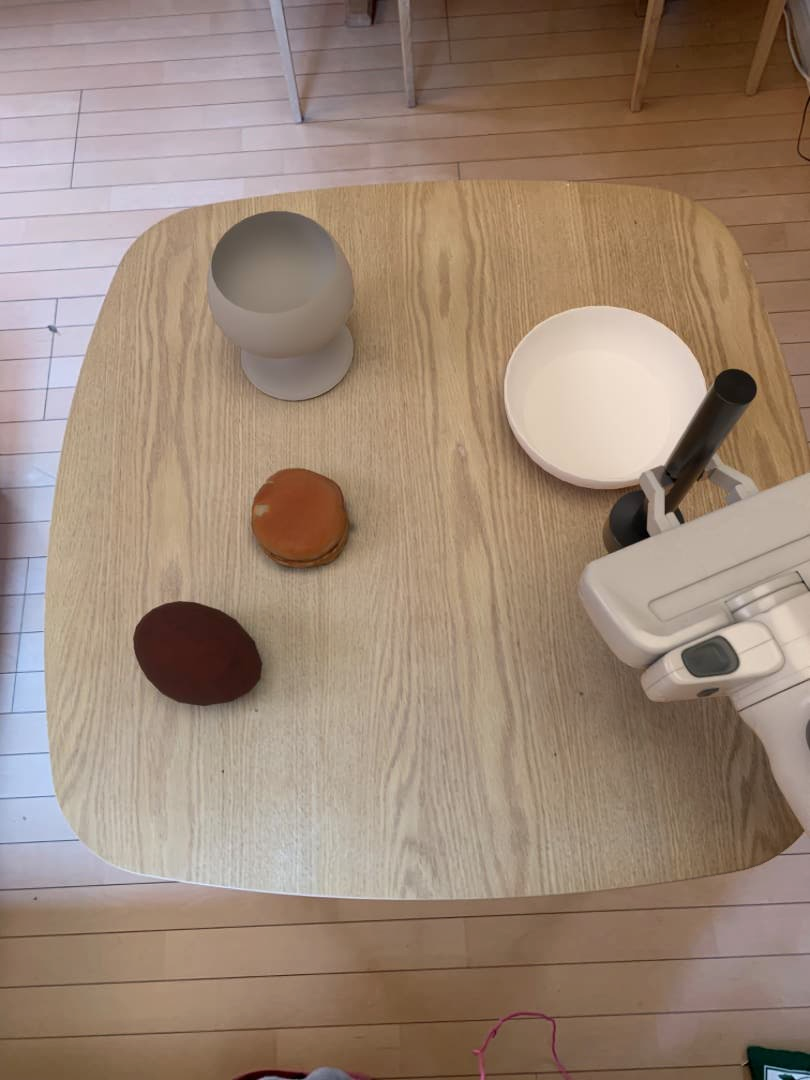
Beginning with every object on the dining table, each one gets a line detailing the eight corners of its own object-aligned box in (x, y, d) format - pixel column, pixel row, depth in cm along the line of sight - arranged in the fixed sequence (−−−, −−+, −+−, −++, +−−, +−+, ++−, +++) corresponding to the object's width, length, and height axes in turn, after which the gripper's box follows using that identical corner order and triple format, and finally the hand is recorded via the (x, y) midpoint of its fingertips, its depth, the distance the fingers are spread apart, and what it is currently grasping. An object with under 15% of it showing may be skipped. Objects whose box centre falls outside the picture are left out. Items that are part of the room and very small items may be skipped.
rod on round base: (683, 518, 71) (800, 360, 49) (663, 581, 69) (775, 448, 47) (614, 493, 72) (698, 328, 50) (592, 555, 70) (669, 412, 48)
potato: (174, 602, 82) (143, 571, 73) (287, 645, 80) (269, 620, 71) (132, 685, 79) (95, 664, 70) (248, 733, 77) (225, 717, 69)
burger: (363, 551, 83) (359, 534, 79) (273, 585, 82) (264, 569, 78) (330, 467, 87) (324, 446, 82) (243, 498, 86) (233, 479, 81)
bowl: (622, 312, 92) (635, 275, 86) (728, 454, 86) (749, 425, 80) (464, 387, 89) (467, 355, 84) (562, 540, 83) (572, 517, 77)
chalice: (281, 434, 88) (253, 353, 74) (207, 344, 92) (168, 252, 78) (388, 361, 91) (381, 270, 77) (312, 277, 95) (291, 176, 81)
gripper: (944, 565, 53) (822, 386, 57) (651, 692, 51) (549, 496, 55) (892, 594, 59) (785, 430, 63) (627, 709, 56) (537, 531, 61)
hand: (673, 462), depth 59 cm, fingers closed on rod on round base, 2 cm apart
